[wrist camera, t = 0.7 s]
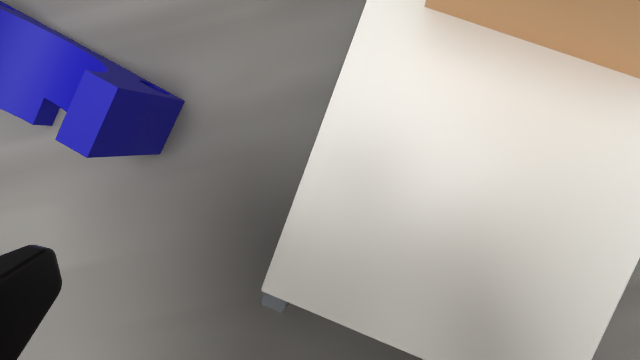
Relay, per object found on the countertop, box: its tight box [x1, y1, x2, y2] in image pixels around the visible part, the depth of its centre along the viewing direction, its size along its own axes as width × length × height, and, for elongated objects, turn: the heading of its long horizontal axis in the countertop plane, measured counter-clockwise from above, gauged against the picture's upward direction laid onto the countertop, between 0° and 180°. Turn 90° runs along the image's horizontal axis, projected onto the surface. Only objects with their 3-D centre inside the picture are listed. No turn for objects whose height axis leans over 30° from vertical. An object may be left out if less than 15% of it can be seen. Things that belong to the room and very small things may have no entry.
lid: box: [261, 0, 640, 360], centre depth 13 cm, size 14×12×10 cm
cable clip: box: [0, 1, 185, 158], centre depth 22 cm, size 12×4×6 cm, turn 62°
